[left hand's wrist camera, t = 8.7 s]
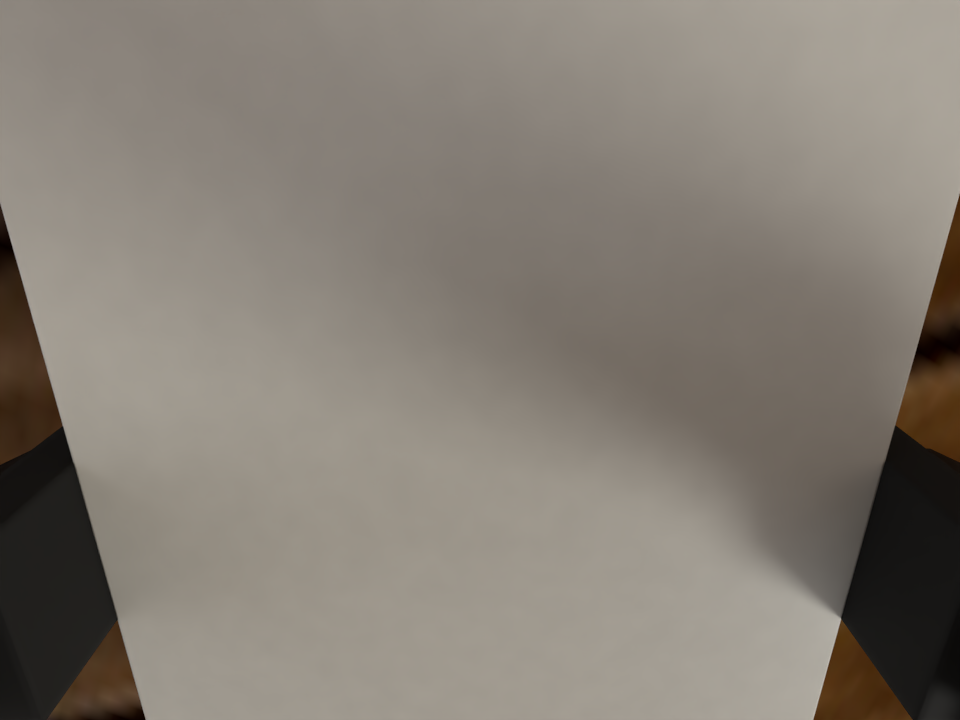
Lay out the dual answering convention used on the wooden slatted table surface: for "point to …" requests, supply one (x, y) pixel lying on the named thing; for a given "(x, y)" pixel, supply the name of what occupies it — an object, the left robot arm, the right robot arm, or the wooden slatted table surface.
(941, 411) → the wooden slatted table surface
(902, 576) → the left robot arm
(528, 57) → the cabinet
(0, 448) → the wooden slatted table surface
